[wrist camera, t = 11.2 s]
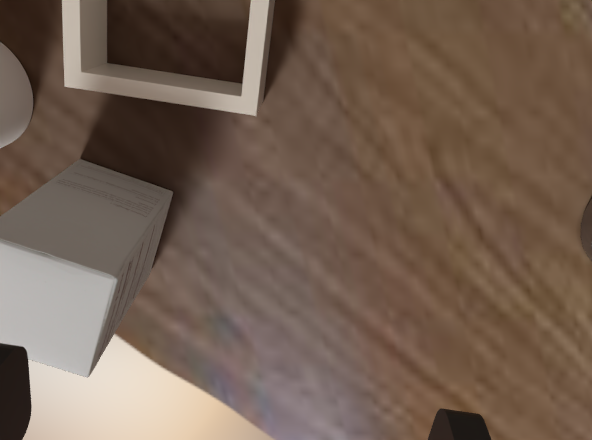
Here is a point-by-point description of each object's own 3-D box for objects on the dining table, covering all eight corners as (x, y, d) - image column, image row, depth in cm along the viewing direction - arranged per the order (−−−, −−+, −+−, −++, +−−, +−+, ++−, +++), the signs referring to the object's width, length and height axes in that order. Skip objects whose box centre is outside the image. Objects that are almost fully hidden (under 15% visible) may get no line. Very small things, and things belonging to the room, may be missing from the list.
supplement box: (60, 241, 41) (-43, 341, 30) (79, 155, 38) (-26, 228, 27) (152, 273, 42) (87, 383, 30) (178, 191, 39) (117, 277, 27)
